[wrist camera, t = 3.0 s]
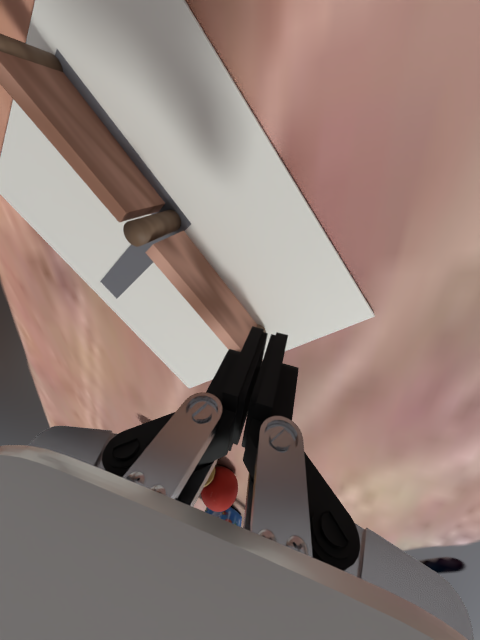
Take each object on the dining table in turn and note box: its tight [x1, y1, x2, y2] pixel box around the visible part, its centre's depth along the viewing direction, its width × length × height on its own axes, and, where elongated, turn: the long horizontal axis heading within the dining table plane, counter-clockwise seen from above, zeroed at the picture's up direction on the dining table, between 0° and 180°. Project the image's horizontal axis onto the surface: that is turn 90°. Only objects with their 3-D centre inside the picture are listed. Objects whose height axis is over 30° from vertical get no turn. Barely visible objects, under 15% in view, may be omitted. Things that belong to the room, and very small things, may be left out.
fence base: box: [0, 34, 181, 247], centre depth 16 cm, size 2×13×5 cm, turn 40°
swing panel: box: [145, 231, 266, 352], centre depth 19 cm, size 11×2×4 cm, turn 40°
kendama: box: [201, 465, 238, 512], centre depth 39 cm, size 8×6×18 cm
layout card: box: [0, 0, 375, 388], centre depth 21 cm, size 23×29×1 cm
